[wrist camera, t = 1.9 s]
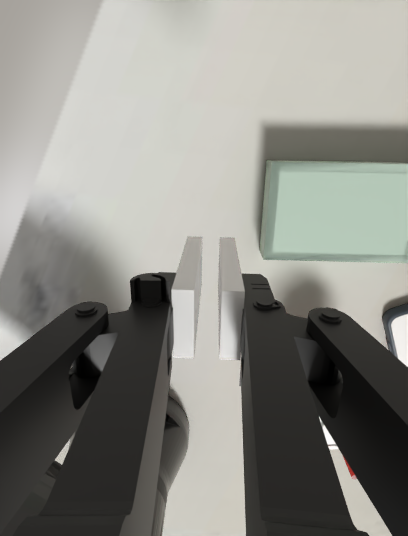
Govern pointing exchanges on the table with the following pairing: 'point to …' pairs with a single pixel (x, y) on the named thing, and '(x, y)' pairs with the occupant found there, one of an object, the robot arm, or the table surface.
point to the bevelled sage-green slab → (335, 211)
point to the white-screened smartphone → (397, 331)
